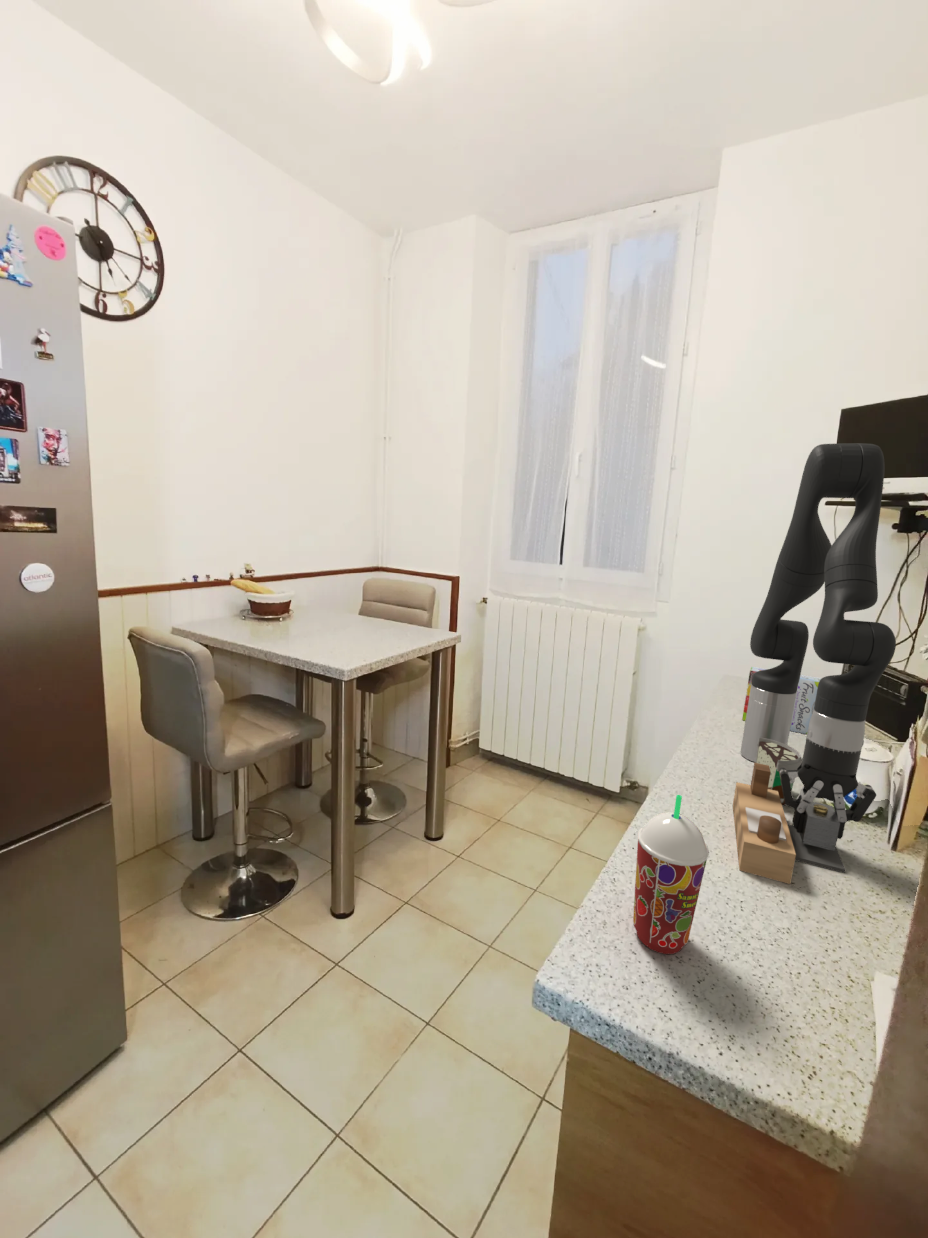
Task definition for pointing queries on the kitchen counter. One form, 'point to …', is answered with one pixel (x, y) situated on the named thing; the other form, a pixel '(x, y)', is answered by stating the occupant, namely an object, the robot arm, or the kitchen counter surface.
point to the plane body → (762, 829)
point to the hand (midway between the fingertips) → (815, 834)
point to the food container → (777, 761)
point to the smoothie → (668, 880)
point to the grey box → (820, 826)
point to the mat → (815, 853)
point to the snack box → (802, 701)
